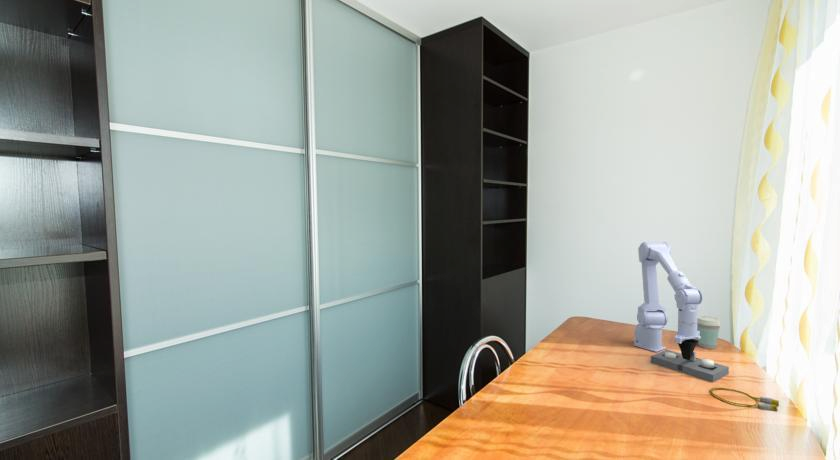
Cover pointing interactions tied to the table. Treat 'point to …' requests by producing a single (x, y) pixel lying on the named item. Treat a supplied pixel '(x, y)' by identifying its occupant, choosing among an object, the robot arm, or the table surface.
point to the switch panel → (690, 366)
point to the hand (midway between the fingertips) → (686, 358)
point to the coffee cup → (708, 331)
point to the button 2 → (707, 363)
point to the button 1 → (670, 355)
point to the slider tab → (693, 357)
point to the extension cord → (763, 399)
